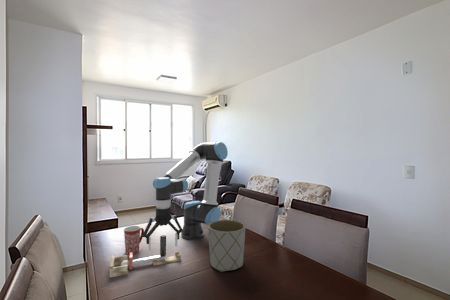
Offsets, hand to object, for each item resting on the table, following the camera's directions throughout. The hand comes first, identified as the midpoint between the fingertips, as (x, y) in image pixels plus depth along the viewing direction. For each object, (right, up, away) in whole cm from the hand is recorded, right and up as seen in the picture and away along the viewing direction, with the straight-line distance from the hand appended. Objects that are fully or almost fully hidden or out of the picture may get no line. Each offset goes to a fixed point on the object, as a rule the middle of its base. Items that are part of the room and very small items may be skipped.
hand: (163, 247), depth 121 cm
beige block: (-20, -7, -8) cm, 22 cm away
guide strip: (+2, -7, +1) cm, 7 cm away
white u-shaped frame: (-7, -7, -3) cm, 10 cm away
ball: (-17, -5, -7) cm, 19 cm away
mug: (-20, -7, +13) cm, 25 cm away
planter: (+33, -8, -2) cm, 34 cm away
